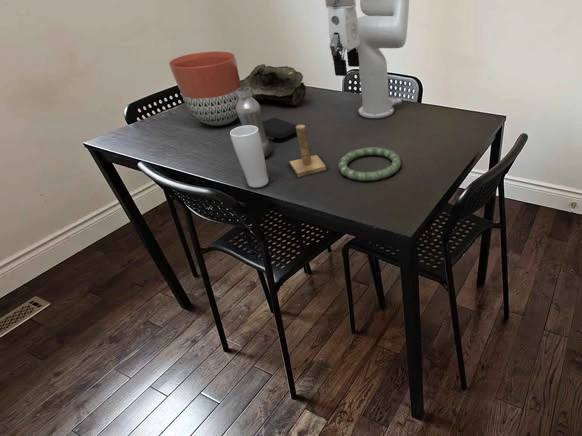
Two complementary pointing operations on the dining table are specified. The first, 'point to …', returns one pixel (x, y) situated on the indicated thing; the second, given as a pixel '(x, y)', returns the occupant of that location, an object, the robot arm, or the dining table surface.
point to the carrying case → (279, 129)
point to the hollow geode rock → (276, 84)
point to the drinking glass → (250, 154)
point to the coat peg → (306, 156)
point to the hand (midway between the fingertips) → (347, 70)
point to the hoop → (369, 175)
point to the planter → (208, 85)
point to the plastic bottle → (251, 114)
